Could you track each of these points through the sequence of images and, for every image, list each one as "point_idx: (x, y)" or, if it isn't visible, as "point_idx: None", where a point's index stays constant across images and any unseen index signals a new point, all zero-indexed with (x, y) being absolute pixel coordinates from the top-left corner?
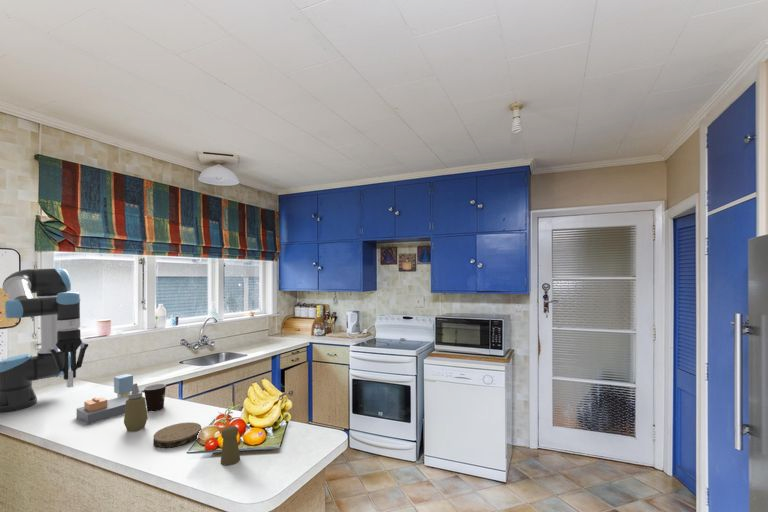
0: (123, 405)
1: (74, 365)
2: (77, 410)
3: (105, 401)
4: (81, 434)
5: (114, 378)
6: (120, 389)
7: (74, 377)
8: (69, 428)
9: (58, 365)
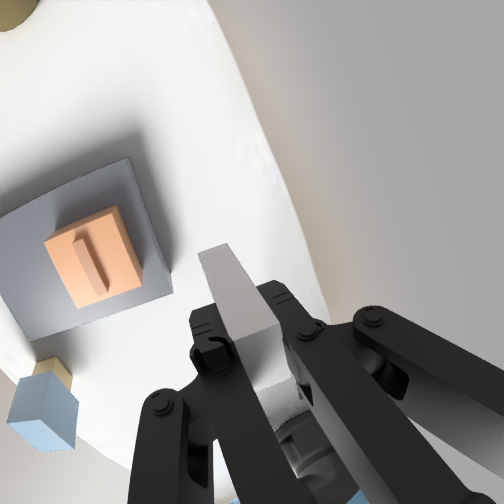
0: (4, 216)
1: (233, 406)
2: (169, 280)
3: (52, 236)
4: (156, 54)
5: (71, 441)
6: (45, 384)
7: (200, 310)
8: (190, 158)
9: (440, 342)
